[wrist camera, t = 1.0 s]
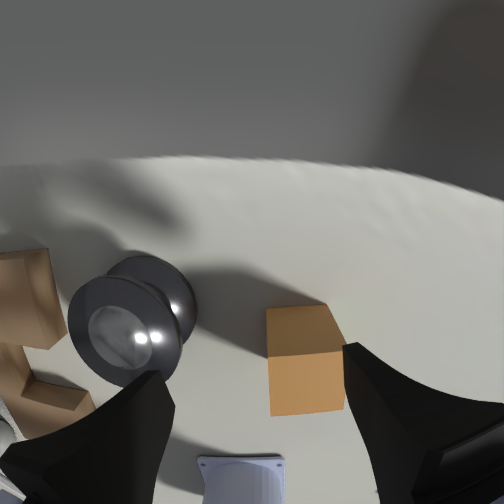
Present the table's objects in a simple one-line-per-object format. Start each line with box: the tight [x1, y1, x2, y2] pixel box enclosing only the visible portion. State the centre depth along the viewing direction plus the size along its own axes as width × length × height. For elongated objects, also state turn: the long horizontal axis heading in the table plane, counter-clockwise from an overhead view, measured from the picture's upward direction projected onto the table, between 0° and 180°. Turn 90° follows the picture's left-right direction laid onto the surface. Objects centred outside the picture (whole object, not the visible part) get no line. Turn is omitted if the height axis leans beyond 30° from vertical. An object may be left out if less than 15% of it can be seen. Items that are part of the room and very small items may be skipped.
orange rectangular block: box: [266, 304, 347, 416], centre depth 17 cm, size 4×4×6 cm
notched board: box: [0, 249, 96, 440], centre depth 20 cm, size 20×11×3 cm, turn 4°
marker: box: [0, 474, 26, 498], centre depth 30 cm, size 3×2×16 cm
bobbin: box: [68, 256, 197, 388], centre depth 18 cm, size 7×7×5 cm
